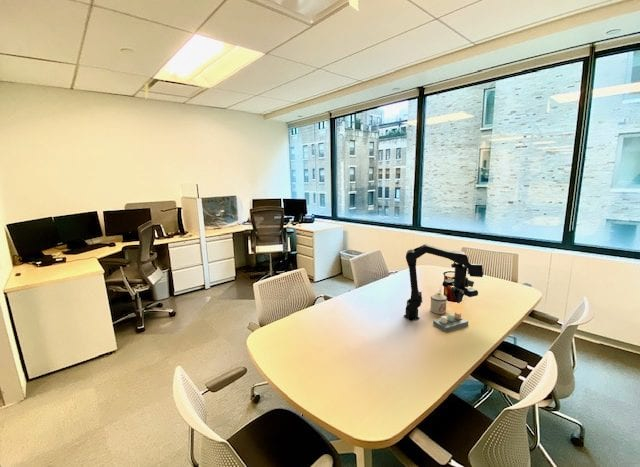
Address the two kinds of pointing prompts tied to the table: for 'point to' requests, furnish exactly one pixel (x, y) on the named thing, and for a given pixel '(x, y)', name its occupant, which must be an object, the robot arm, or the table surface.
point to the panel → (450, 324)
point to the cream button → (443, 320)
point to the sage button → (450, 318)
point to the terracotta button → (457, 316)
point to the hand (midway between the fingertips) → (458, 302)
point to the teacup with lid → (438, 303)
